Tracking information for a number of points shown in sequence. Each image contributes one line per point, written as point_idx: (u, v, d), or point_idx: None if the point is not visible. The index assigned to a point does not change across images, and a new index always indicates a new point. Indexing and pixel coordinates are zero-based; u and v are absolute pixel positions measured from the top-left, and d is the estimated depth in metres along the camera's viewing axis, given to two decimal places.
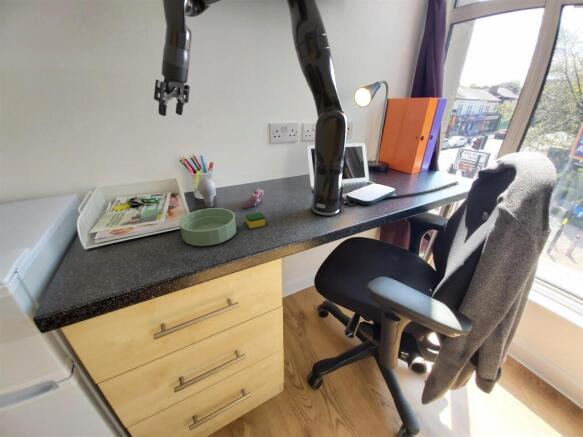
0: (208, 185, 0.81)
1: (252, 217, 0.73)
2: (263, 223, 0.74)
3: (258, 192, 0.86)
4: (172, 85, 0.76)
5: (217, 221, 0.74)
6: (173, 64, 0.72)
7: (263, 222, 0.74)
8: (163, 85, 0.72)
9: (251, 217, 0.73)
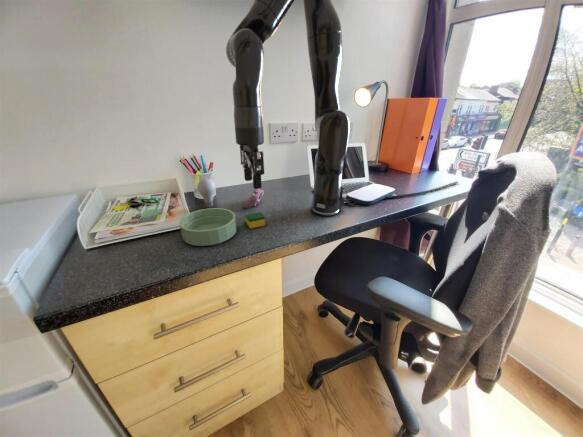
0: (208, 185, 0.81)
1: (252, 217, 0.73)
2: (263, 223, 0.74)
3: (258, 192, 0.86)
4: None
5: (217, 221, 0.74)
6: (259, 127, 0.61)
7: (263, 222, 0.74)
8: None
9: (251, 217, 0.73)
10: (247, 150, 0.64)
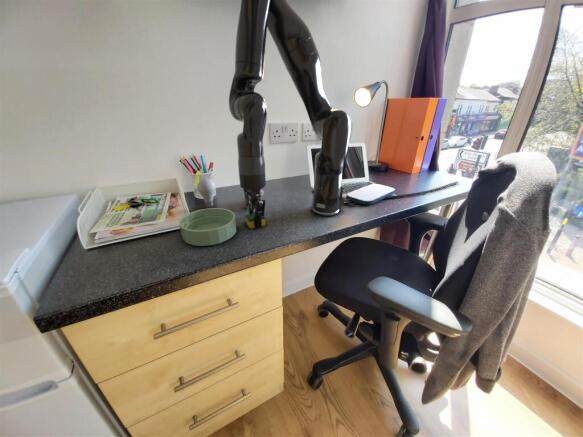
0: (208, 185, 0.81)
1: (252, 217, 0.73)
2: (263, 223, 0.74)
3: None
4: None
5: (217, 221, 0.74)
6: (261, 173, 0.66)
7: (263, 222, 0.74)
8: None
9: (251, 217, 0.73)
10: (250, 192, 0.69)
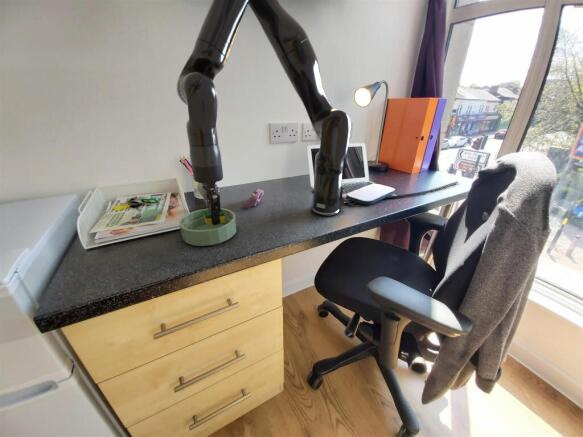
0: None
1: (209, 214, 0.66)
2: (222, 220, 0.68)
3: (258, 192, 0.86)
4: None
5: None
6: (215, 165, 0.59)
7: (222, 219, 0.68)
8: (219, 197, 0.60)
9: (208, 214, 0.66)
10: (206, 186, 0.63)
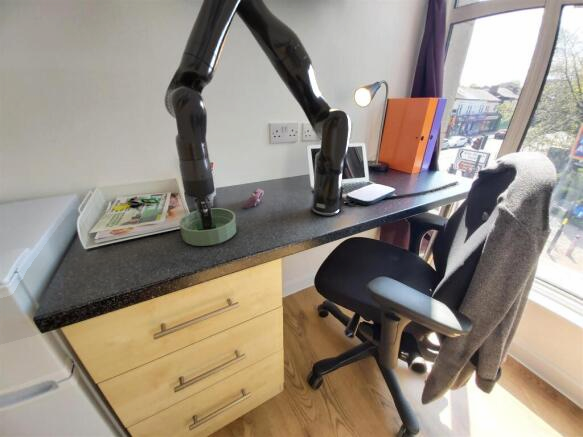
0: None
1: (201, 226, 0.66)
2: None
3: (258, 192, 0.86)
4: (206, 199, 0.62)
5: (217, 221, 0.74)
6: (205, 179, 0.59)
7: None
8: (210, 211, 0.59)
9: (200, 226, 0.66)
10: (197, 199, 0.62)
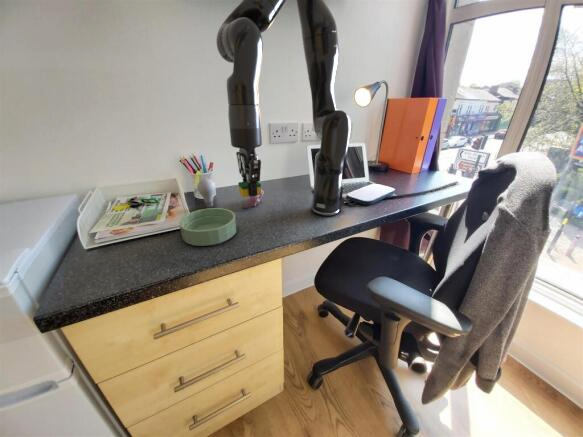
0: (208, 185, 0.81)
1: (246, 184, 0.62)
2: (259, 192, 0.63)
3: None
4: None
5: (217, 221, 0.74)
6: (256, 128, 0.55)
7: (259, 191, 0.63)
8: None
9: (244, 184, 0.62)
10: (243, 153, 0.58)
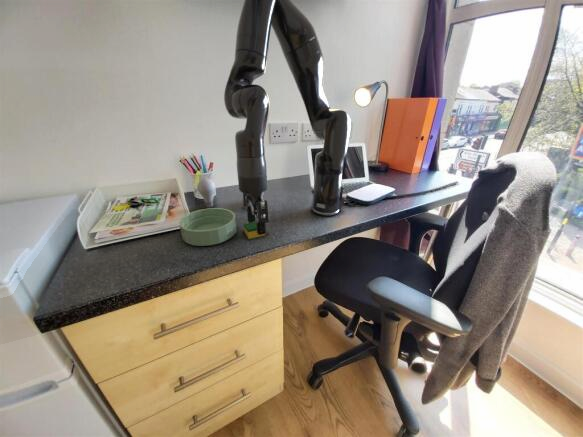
0: (208, 185, 0.81)
1: (251, 227, 0.67)
2: None
3: None
4: None
5: (217, 221, 0.74)
6: (262, 176, 0.59)
7: None
8: None
9: (250, 227, 0.67)
10: (250, 196, 0.63)
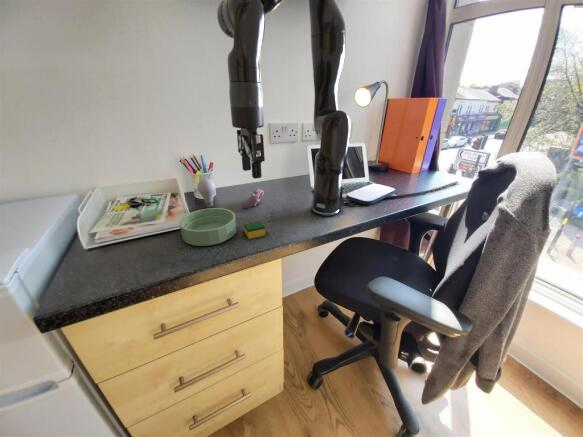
0: (208, 185, 0.81)
1: (251, 227, 0.67)
2: (263, 233, 0.68)
3: (258, 192, 0.86)
4: None
5: (217, 221, 0.74)
6: (258, 106, 0.53)
7: (263, 232, 0.68)
8: None
9: (250, 227, 0.67)
10: (245, 134, 0.56)
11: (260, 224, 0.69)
